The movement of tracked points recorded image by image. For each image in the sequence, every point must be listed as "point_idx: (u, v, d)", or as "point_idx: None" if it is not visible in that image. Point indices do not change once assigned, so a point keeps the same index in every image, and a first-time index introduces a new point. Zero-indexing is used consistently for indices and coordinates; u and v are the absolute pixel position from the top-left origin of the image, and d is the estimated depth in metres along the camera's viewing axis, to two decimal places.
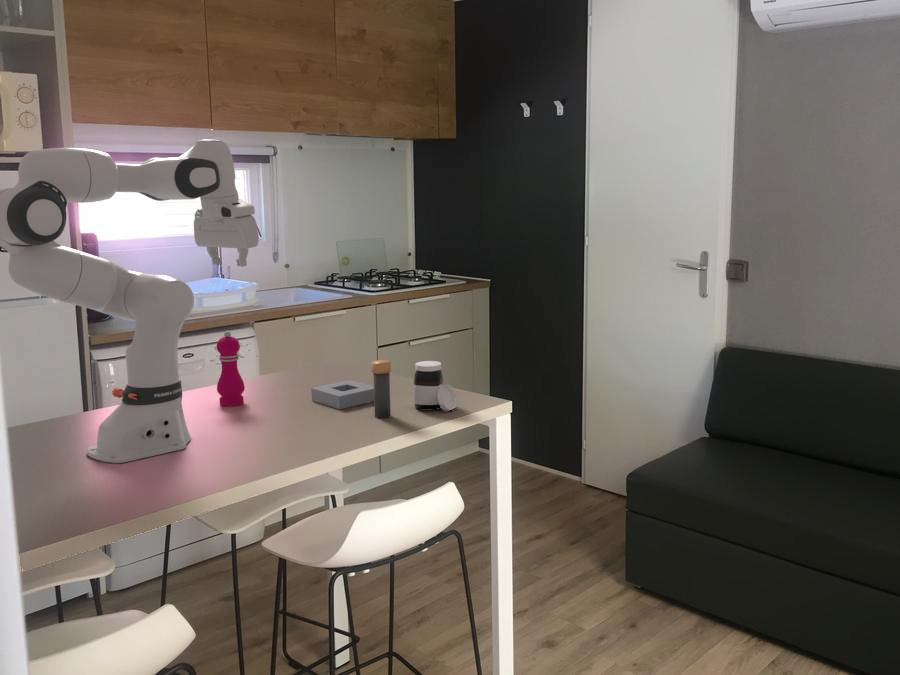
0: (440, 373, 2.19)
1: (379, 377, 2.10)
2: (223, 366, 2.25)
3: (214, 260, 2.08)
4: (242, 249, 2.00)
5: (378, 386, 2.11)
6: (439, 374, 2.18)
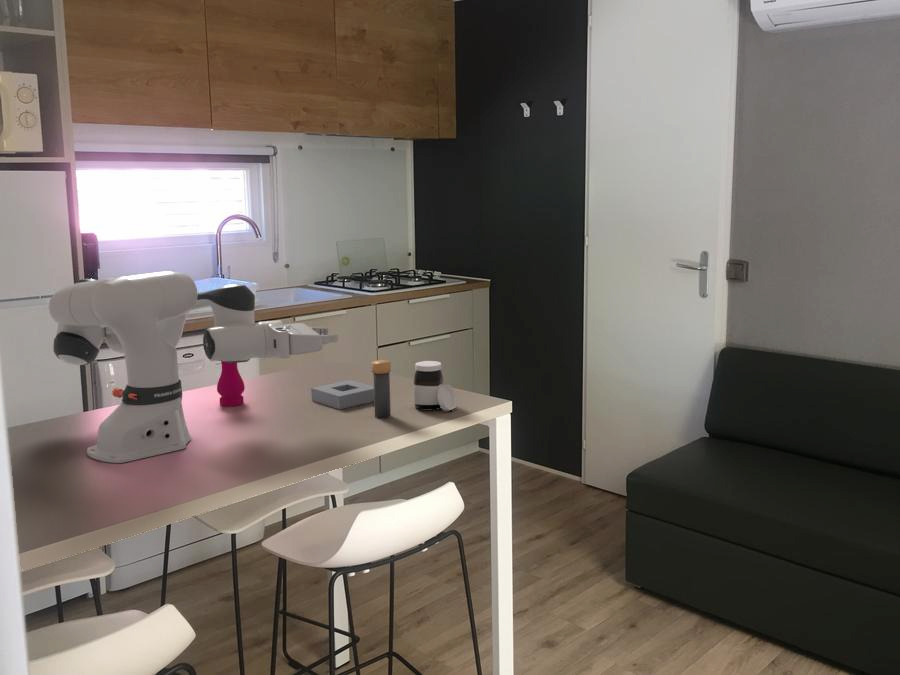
0: (440, 373, 2.19)
1: (379, 377, 2.10)
2: (223, 366, 2.25)
3: (322, 335, 2.10)
4: None
5: (378, 386, 2.11)
6: (439, 374, 2.18)
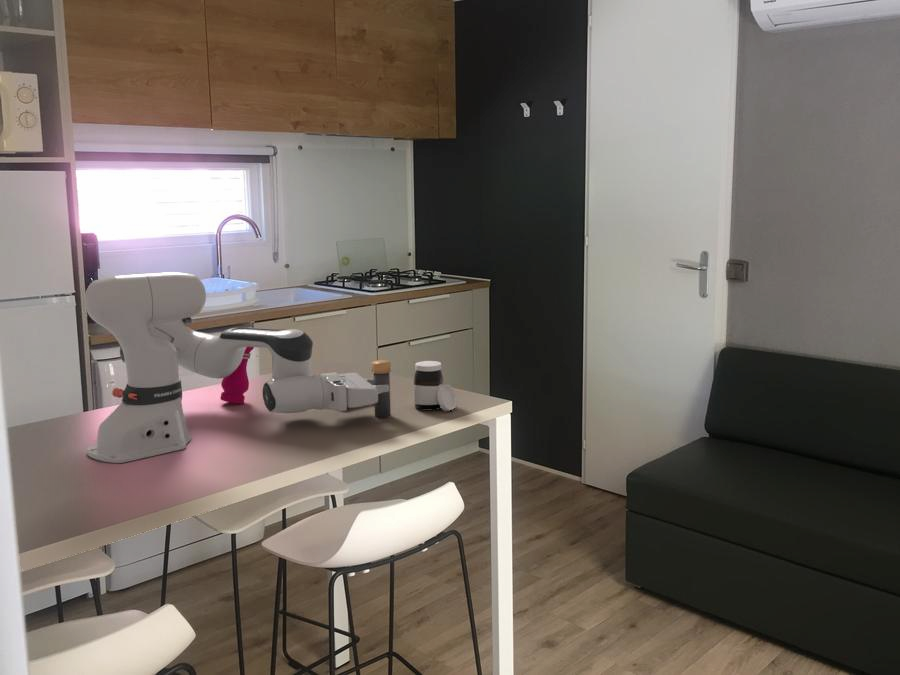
0: (440, 373, 2.19)
1: (380, 377, 2.10)
2: None
3: None
4: None
5: None
6: (439, 374, 2.18)
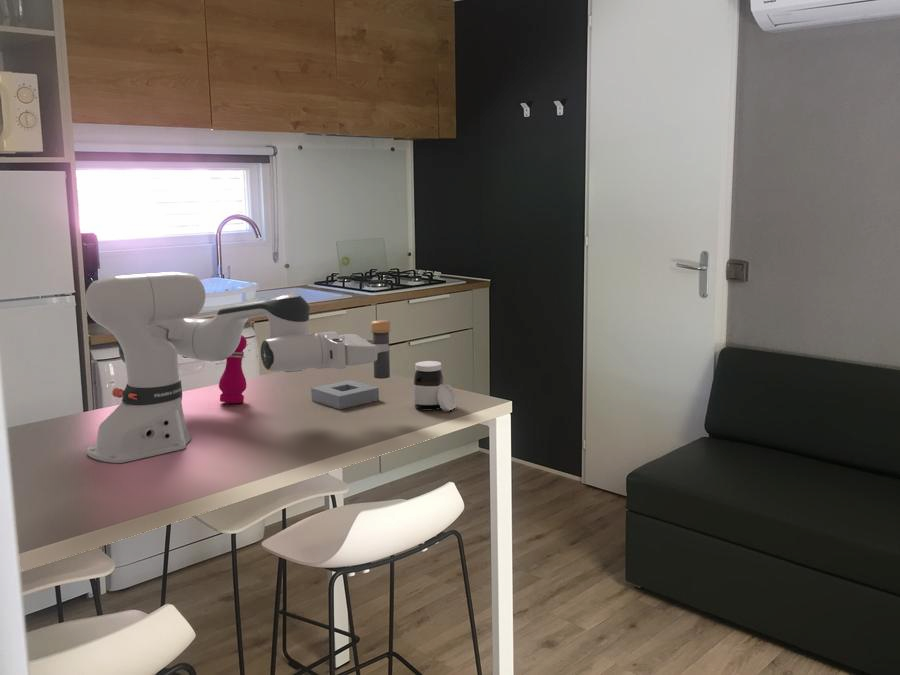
0: (440, 373, 2.19)
1: (379, 337, 2.08)
2: (228, 362, 2.26)
3: None
4: None
5: None
6: (439, 374, 2.18)
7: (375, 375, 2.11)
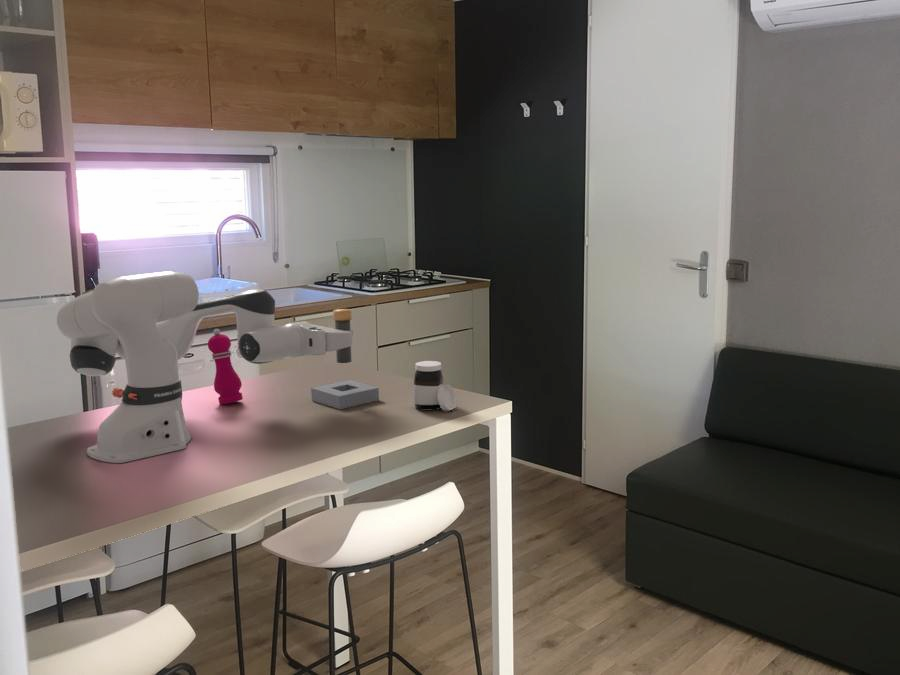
0: (440, 373, 2.19)
1: (343, 324, 2.24)
2: (217, 364, 2.26)
3: None
4: None
5: None
6: (439, 374, 2.18)
7: (339, 360, 2.26)
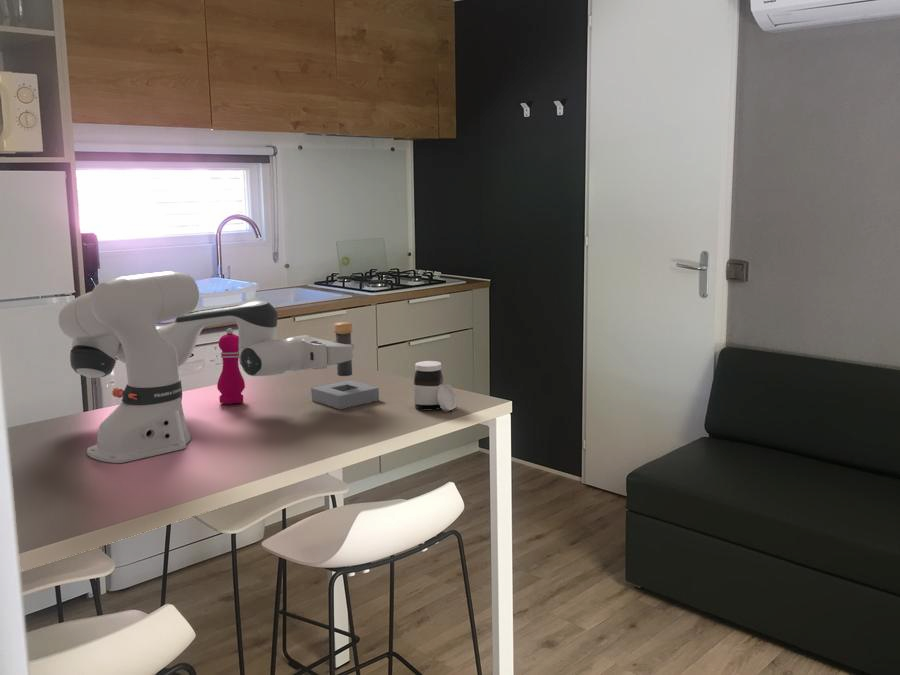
0: (440, 373, 2.19)
1: (344, 337, 2.25)
2: (224, 363, 2.26)
3: None
4: None
5: None
6: (439, 374, 2.18)
7: (340, 373, 2.27)
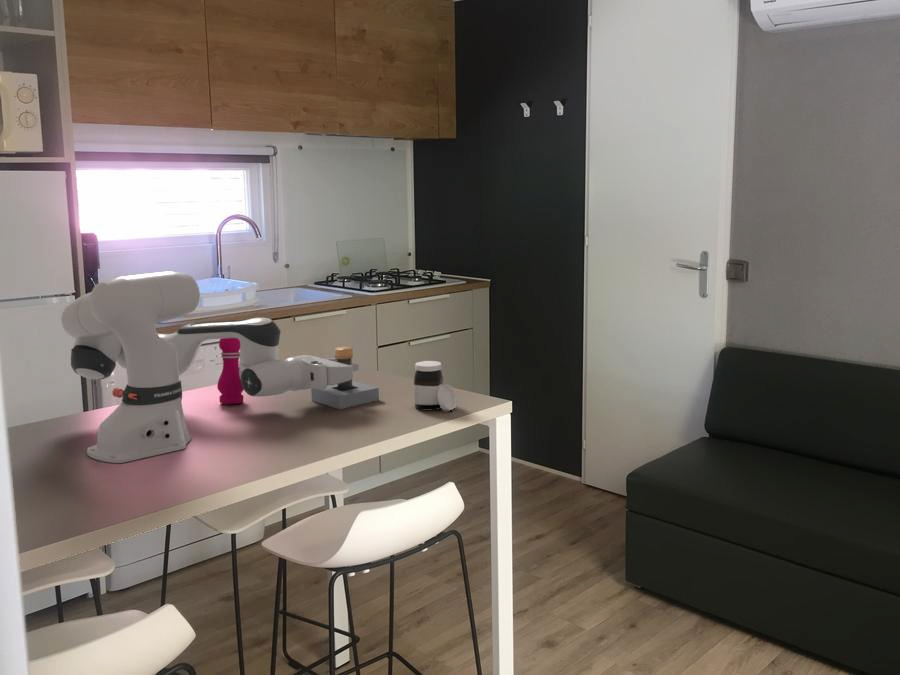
0: (440, 373, 2.19)
1: (345, 362, 2.26)
2: (224, 363, 2.26)
3: None
4: None
5: None
6: (439, 374, 2.18)
7: None
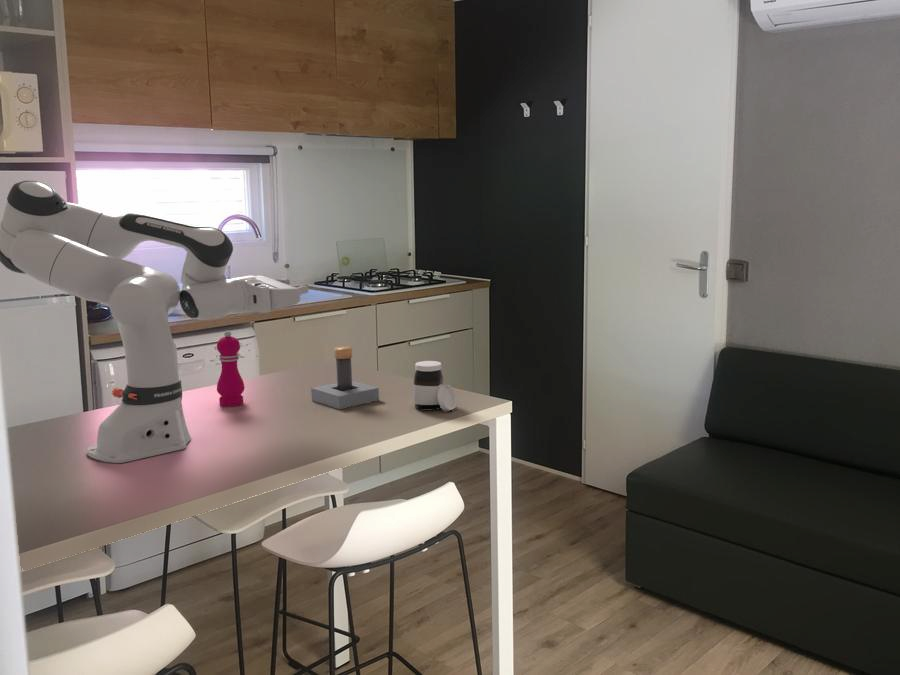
0: (440, 373, 2.19)
1: (344, 362, 2.26)
2: (223, 366, 2.25)
3: None
4: None
5: (343, 371, 2.27)
6: (439, 374, 2.18)
7: None
